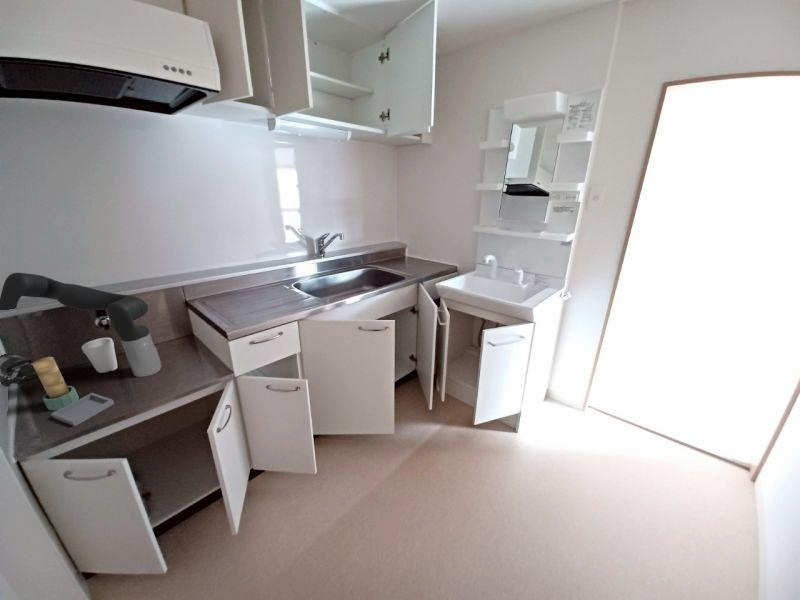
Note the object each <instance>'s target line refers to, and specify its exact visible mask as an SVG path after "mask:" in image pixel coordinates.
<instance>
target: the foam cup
mask: <svg viewBox="0 0 800 600" xmlns="http://www.w3.org/2000/svg"><path fill="white" fill-rule="evenodd" d="M81 350H82V352H83V354H85V356H86V357H87V358H88V360H89V361H90V363H91V364H92V366H93V368H94V369H95V371H96V372H98V373H100V374H102V373H108V372H110V371H112V372H113V371H115V370H116V369H118V361H117V356H116V351H115V343H114V340H113V339H112V338H111V337H101V338H96V339H92V340H90V341H88V342H85V343H84V344H83V345H82V346H81Z"/></svg>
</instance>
